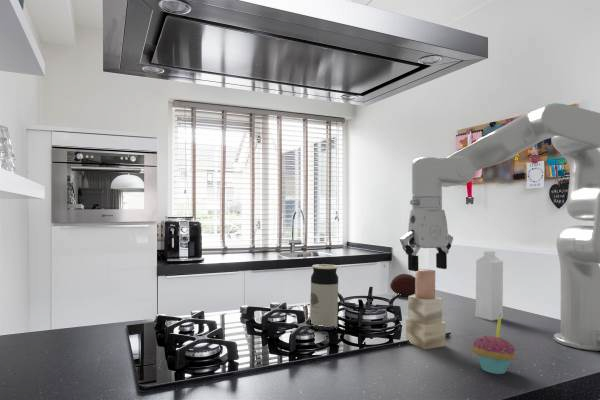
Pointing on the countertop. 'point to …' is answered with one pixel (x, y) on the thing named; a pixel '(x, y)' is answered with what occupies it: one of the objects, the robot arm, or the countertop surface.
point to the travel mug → (324, 295)
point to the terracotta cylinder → (425, 284)
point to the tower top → (425, 310)
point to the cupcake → (494, 352)
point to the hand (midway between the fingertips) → (427, 269)
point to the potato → (403, 284)
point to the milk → (489, 287)
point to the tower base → (425, 334)
